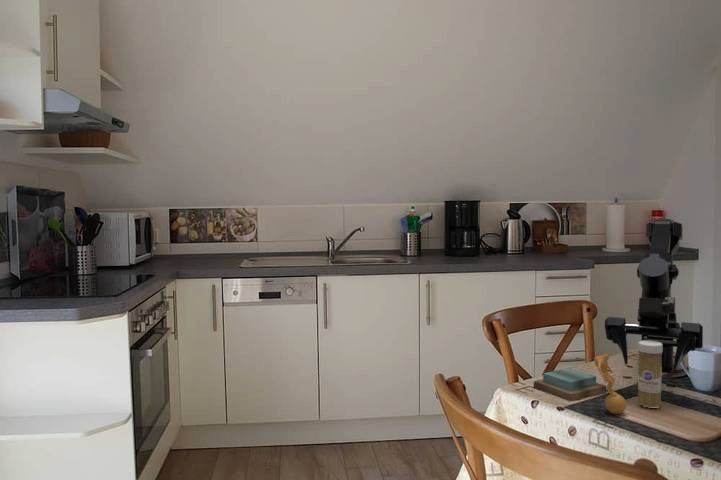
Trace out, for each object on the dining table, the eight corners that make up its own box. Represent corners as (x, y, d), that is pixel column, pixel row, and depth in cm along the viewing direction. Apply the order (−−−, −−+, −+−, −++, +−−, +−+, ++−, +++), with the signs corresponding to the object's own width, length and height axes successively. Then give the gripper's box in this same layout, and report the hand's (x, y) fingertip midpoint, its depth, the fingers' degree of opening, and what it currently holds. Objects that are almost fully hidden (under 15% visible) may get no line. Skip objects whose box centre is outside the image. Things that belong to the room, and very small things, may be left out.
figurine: (623, 421, 114) (624, 360, 113) (590, 416, 117) (591, 357, 116) (628, 408, 121) (628, 351, 121) (597, 404, 124) (597, 348, 124)
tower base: (567, 380, 141) (567, 365, 141) (606, 392, 132) (606, 377, 131) (533, 387, 136) (533, 372, 136) (571, 401, 126) (571, 385, 126)
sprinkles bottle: (638, 408, 121) (638, 343, 121) (636, 401, 126) (637, 338, 125) (663, 410, 120) (663, 345, 119) (660, 403, 124) (661, 340, 123)
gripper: (606, 280, 131) (597, 339, 122) (703, 285, 121) (702, 349, 112) (610, 310, 138) (603, 368, 129) (703, 316, 128) (701, 379, 119)
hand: (650, 366), depth 122 cm, fingers open, 9 cm apart
